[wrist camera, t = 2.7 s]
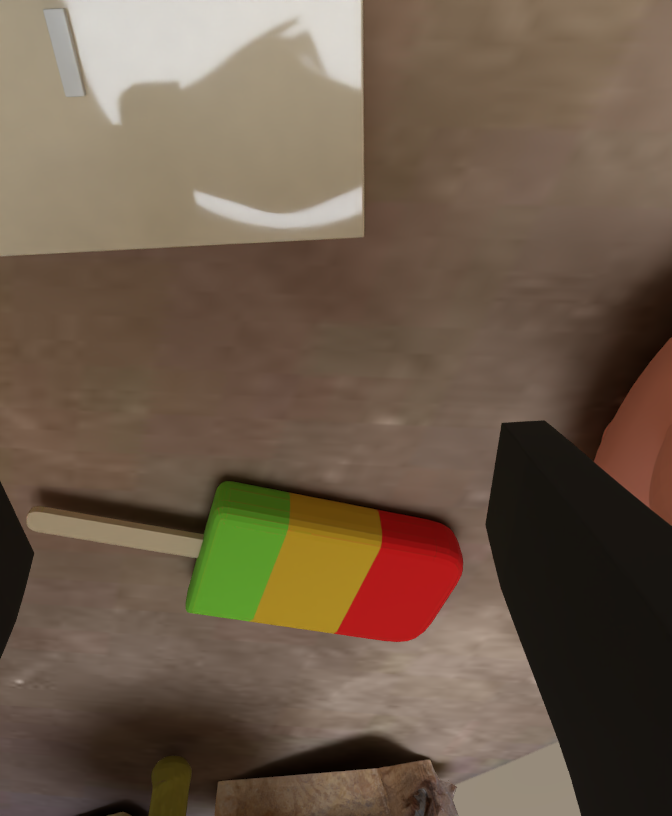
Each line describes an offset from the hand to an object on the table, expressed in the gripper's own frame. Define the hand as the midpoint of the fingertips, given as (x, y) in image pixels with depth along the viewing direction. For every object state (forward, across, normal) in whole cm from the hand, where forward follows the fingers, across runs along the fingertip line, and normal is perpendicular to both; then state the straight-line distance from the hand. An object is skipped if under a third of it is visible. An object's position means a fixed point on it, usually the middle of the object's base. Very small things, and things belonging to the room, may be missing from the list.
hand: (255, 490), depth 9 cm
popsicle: (+9, +2, +11) cm, 14 cm away
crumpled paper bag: (+5, +2, +28) cm, 29 cm away
